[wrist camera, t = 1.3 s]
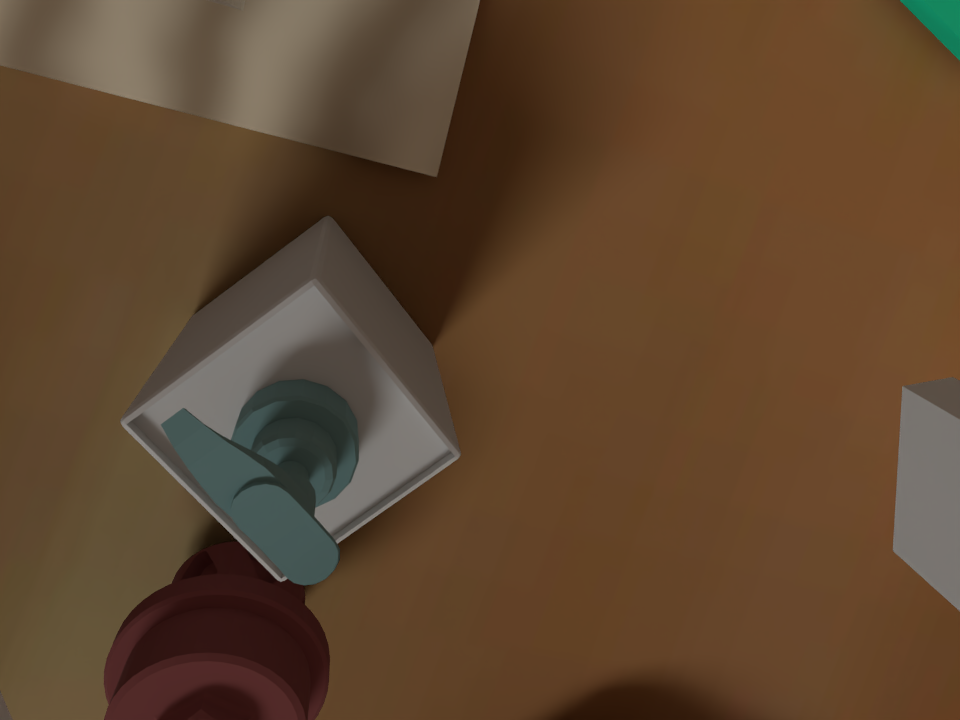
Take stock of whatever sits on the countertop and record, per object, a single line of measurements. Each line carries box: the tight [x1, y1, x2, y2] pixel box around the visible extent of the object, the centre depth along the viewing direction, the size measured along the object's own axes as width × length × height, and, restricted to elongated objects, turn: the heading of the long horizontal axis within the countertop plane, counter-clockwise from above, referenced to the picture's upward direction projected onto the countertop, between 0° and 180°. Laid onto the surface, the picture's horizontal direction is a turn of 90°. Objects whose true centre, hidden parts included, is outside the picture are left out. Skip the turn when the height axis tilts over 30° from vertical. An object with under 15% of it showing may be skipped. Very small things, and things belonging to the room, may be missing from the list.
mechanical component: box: [104, 541, 330, 720], centre depth 39 cm, size 12×10×10 cm
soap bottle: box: [121, 216, 461, 585], centre depth 32 cm, size 9×9×19 cm
